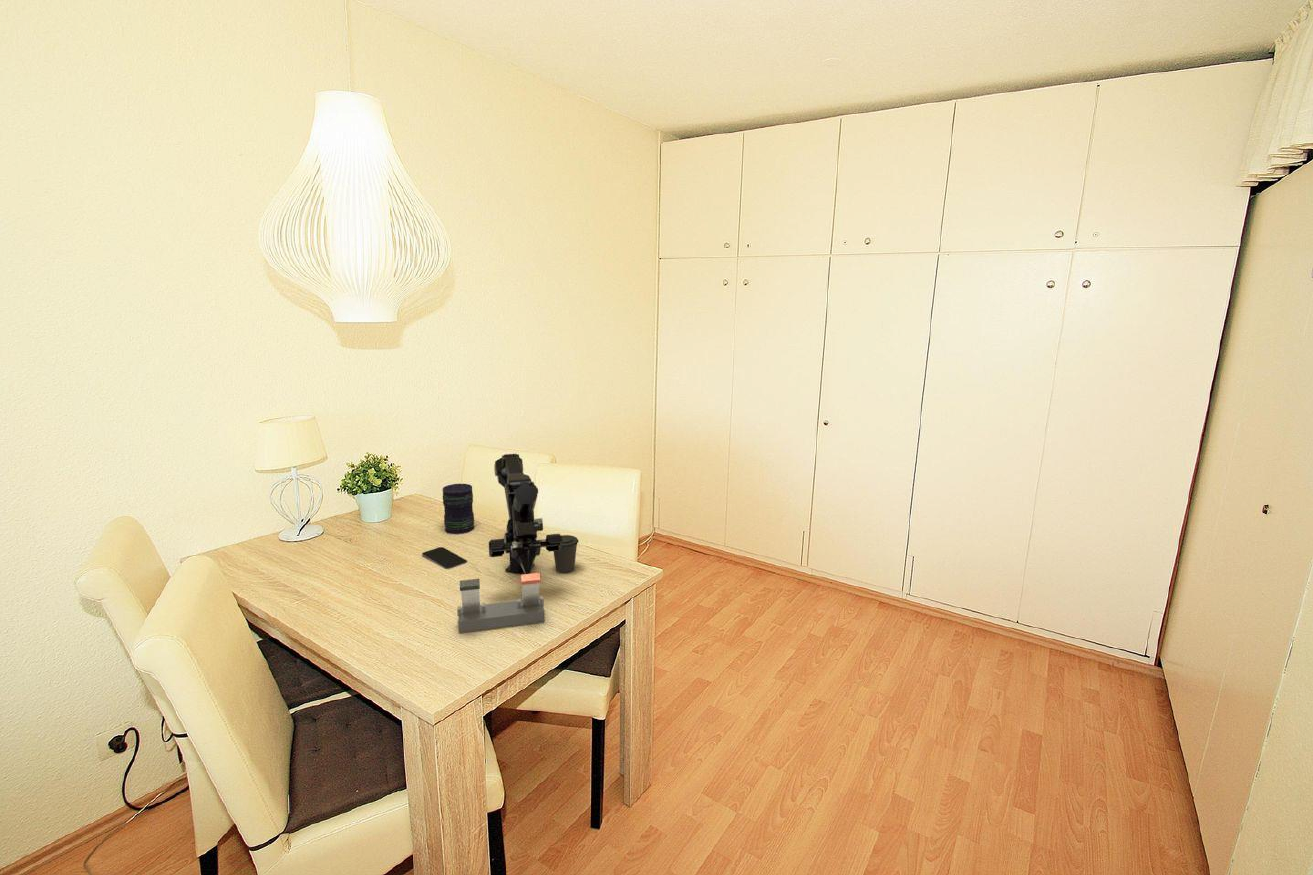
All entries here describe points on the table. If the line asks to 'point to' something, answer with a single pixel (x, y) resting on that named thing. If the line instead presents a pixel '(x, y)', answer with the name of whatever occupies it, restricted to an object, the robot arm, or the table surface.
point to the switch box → (500, 616)
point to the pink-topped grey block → (530, 589)
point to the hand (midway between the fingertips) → (528, 576)
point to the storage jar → (458, 508)
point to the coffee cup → (566, 554)
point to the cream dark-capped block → (470, 595)
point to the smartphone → (444, 558)
